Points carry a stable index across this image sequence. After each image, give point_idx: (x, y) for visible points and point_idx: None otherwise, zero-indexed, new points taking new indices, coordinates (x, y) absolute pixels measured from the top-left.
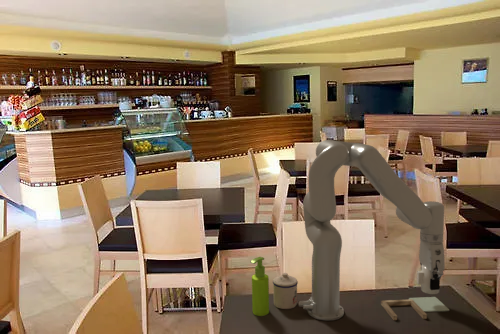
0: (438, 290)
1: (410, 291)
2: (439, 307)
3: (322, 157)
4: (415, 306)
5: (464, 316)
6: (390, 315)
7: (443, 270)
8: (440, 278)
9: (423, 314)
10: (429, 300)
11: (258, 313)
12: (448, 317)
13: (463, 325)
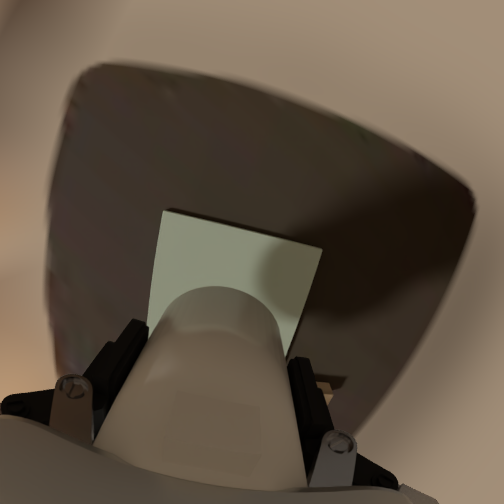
0: (277, 329)
1: (77, 282)
2: (282, 281)
3: None
4: None
5: (389, 220)
6: None
7: (403, 499)
8: (354, 441)
9: (327, 404)
10: (193, 274)
11: None
12: (364, 298)
13: (429, 285)
